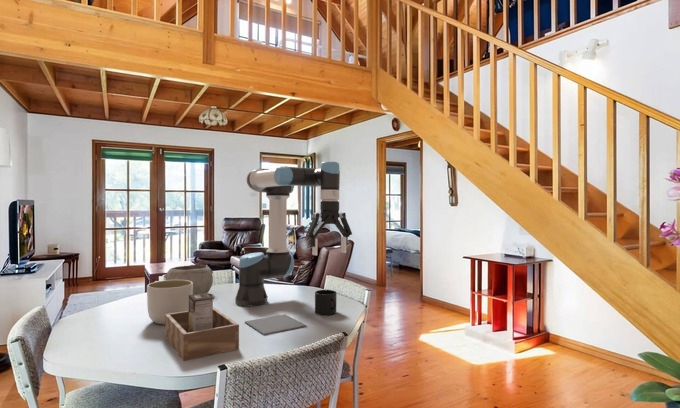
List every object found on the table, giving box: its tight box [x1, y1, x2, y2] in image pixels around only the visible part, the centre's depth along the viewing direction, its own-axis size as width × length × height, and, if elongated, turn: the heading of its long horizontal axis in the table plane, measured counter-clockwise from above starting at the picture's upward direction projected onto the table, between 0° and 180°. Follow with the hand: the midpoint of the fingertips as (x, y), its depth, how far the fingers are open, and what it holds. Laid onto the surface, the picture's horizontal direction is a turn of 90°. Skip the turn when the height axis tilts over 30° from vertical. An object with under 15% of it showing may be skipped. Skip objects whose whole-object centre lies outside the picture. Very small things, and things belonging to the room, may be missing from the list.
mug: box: [314, 289, 337, 316], centre depth 173 cm, size 9×12×9 cm
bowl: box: [164, 264, 214, 294], centre depth 203 cm, size 23×23×15 cm
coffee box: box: [189, 292, 214, 332], centre depth 136 cm, size 9×6×16 cm
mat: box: [244, 313, 308, 336], centre depth 157 cm, size 18×18×1 cm
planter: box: [146, 279, 193, 326], centre depth 160 cm, size 17×17×15 cm
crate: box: [164, 306, 240, 361], centre depth 136 cm, size 26×17×8 cm, turn 35°
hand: (329, 253), depth 158 cm, fingers open, 13 cm apart
